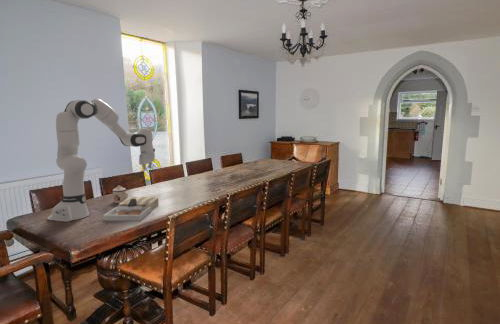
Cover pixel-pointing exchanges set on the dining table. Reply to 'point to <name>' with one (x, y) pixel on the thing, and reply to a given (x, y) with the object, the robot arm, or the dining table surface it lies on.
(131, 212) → the tile right
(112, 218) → the box
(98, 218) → the dining table surface
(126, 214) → the tile left
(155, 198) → the beige rectangular tray
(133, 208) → the scraper
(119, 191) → the teacup with lid
